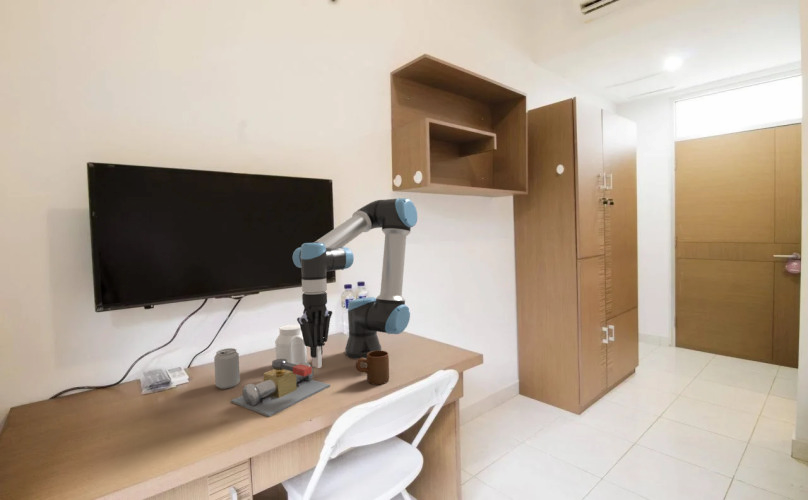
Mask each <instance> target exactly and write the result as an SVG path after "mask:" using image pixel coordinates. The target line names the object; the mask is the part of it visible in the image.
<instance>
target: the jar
mask: <svg viewBox="0 0 808 500" xmlns="http://www.w3.org/2000/svg"><path fill="white" fill-rule="evenodd" d="M278 329H279V334H278V336H277V337H276V339H275V340H274V341H275V342H274V343H275V360H276V359H286V360H287V362H288V363H292V364H296V365H299V364H301V363H303V362H308V355H307V354H308V353H307V352H308V350H307V347H308V346H305V344H304V340H303V336H302V331H301V327H300V324H286V325H282V326H280V327H279V328H278Z"/></svg>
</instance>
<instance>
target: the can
mask: <svg viewBox="0 0 808 500" xmlns="http://www.w3.org/2000/svg"><path fill="white" fill-rule="evenodd" d="M239 354H240V353H238V351H237V349H236V348H222V349H219V350H217V351H216V353H215V356H214V357H213V359H214V360H213V361H214V377H215V381H214V382H215V387H217V388H218V389H221V390H226V389H231V388H234V387H236V386H237V385H238V384H239V383H240V382H241V378H240V356H239Z"/></svg>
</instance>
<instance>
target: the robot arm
mask: <svg viewBox="0 0 808 500" xmlns="http://www.w3.org/2000/svg"><path fill="white" fill-rule="evenodd" d="M417 222H418V212H417V207H416V206H415V203H414V202H413V201H412V200H411V199H410V198H400V197H398V198H390V199H389V198H388V199H377V200H374V201H371V202H369V203H367V204H366V205H363V206H362V207H361V208H359V209H357V210H356V211H354V212H353V214H352V216H351V217H350V218H348V219H346V220H345V221H344V222H343V223H341V224H339V225H338V226H337V227H335V228H333V229H332V230H330V231H329V232H327V233H326V234H324V235H323V236H322V237H320V238H319V239H316V241H314V242H304V243H303V244H301V246H300V247H297V248H296V249H295V250H294V251H293V254H292V261H293V264H294V265H295V267H296V268H300V269H301V291H302V294H301V299H302V300H301V301H302V305H303V311H302V313H303V314H302V316H301V317H297V318H296V320H297V321H296V322H298V325H300V327H301V331H302V336H303V340H304V344H305V346H307V347H308V348H310V350H309V351H310V352H309V353H310V357H311V363H312V364H311V366H312V368H317V369H319V368H322V367H323V365H322V364H323V363H322V359H323V357H322V355H323V352H324V351H323V347H325V345H326V342H327V343H328V340H329V339H328V337H329V331H330V324H331V323H330V322H331V318H332V315H333V311H332V310H328V308H327V304H328V293H327V292H326V291H328V288H327V286H328V285H327V282H328V281H327V272H332V271H340V270H341V271H344V270H346V269H349V268H351V266H352V265H353V264H354V257H355V256H354V254H353V251H352V249H350V248H349V247H346V245H348V244H349V243H350V242H351V241H353V240H354V239H356V238H357V237H358V236H359V235H361V234H362V233H368V232H369V231H371V230H372V229H379V228H381V231H382V233H384V246H383V258H382V271H381V282H380V292H379V293H380V294H379V295H378V296H376V297H375V296H370V297H369V296H368V297H362V298H356V299H352V300H350V301H349V302H348V305H347V319H348V338H347V341H346V344H345V345H346V346H345V348H344V353H345V357H348V358H350V359H354V360H355V359H356V360H358V359H359V358H362V357H363V358H367V353H369V352H371V351H382V345H381V343H380V339H379V337H378V332H379V333H382V334H383V333H385V334H388V335H399V334H401V333H403V332H404V331H405V329H407V327H408V325H409V323H410V318H411V311H410V309H409V307H408V306H407V305H406V299H405V298H404V297H403V283H404V270H405V269H404V267H405V258H406V257H405V254H406V245H407V244H406V243H407V242H406V241H407V236H409V235H410V233H411V228H413V227H415V226H416V224H417Z"/></svg>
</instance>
